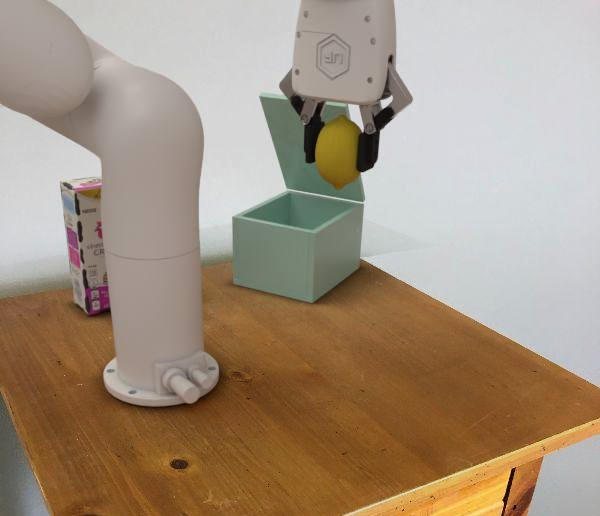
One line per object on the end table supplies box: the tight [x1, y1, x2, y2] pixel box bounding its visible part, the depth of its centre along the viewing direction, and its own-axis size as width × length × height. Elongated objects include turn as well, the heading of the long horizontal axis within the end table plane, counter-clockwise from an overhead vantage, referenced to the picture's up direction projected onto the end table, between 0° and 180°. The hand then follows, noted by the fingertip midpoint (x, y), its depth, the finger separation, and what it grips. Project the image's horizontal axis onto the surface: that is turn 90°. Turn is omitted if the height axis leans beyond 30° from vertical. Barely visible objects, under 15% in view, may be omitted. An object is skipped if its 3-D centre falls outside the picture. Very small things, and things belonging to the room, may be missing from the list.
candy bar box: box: [59, 175, 111, 316], centre depth 97 cm, size 11×5×16 cm, turn 128°
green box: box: [231, 189, 365, 304], centre depth 108 cm, size 16×13×10 cm
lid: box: [258, 91, 366, 203], centre depth 106 cm, size 17×13×5 cm
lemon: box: [315, 115, 363, 190], centre depth 82 cm, size 6×6×8 cm
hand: (339, 163), depth 82 cm, fingers closed on lemon, 5 cm apart
